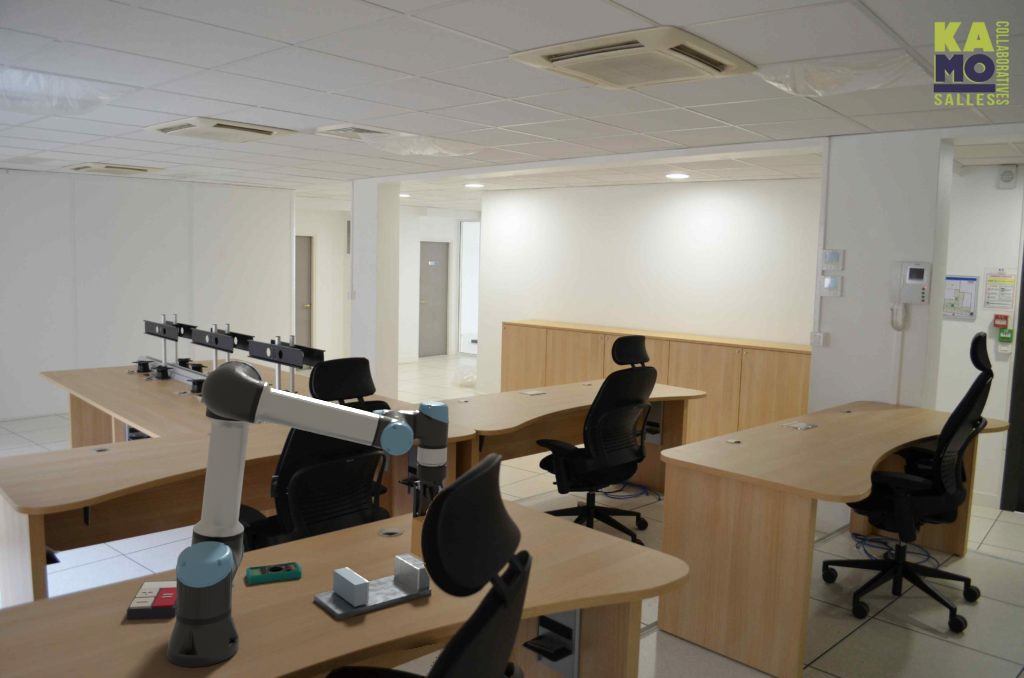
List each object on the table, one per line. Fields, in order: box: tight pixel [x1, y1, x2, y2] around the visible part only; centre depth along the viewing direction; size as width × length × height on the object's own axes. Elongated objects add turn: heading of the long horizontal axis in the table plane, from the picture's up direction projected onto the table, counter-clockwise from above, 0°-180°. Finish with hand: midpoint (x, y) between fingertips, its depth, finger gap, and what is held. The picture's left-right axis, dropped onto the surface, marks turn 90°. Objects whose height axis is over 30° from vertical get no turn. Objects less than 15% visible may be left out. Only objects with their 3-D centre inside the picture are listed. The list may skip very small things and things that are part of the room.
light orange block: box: [410, 516, 425, 559], centre depth 194 cm, size 7×5×9 cm
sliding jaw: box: [332, 566, 370, 607], centre depth 200 cm, size 4×12×6 cm, turn 40°
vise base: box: [313, 552, 432, 621], centre depth 204 cm, size 28×14×8 cm, turn 130°
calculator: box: [126, 580, 177, 621], centre depth 193 cm, size 11×4×15 cm
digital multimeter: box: [245, 561, 303, 585], centre depth 215 cm, size 7×15×3 cm, turn 116°
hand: (428, 551), depth 194 cm, fingers closed on light orange block, 5 cm apart
